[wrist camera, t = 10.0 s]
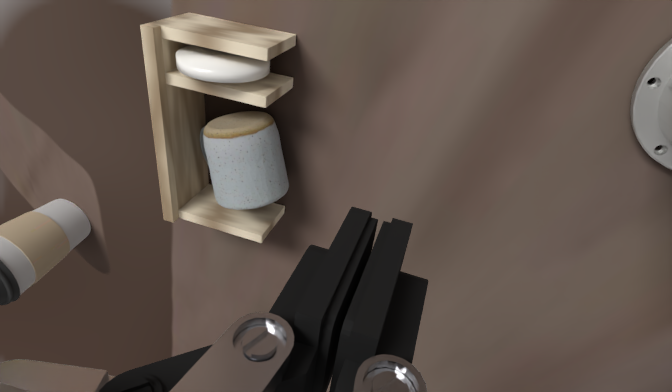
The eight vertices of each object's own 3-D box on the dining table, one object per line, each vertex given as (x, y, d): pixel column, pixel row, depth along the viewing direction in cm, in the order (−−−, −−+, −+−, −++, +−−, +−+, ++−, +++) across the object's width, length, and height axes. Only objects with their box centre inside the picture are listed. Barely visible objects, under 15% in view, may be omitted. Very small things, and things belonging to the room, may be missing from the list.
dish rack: (296, 34, 39) (261, 51, 34) (284, 213, 50) (257, 248, 45) (189, 12, 42) (140, 25, 36) (200, 188, 52) (163, 219, 47)
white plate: (284, 54, 41) (243, 77, 34) (283, 65, 41) (243, 90, 35) (208, 38, 42) (155, 57, 36) (208, 48, 43) (156, 69, 36)
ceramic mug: (286, 105, 43) (249, 134, 37) (300, 178, 47) (269, 215, 41) (198, 108, 47) (151, 135, 41) (218, 176, 51) (178, 210, 45)
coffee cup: (33, 193, 63) (-79, 255, 51) (77, 189, 60) (-32, 255, 47) (64, 244, 67) (-33, 314, 55) (107, 243, 64) (14, 317, 51)
